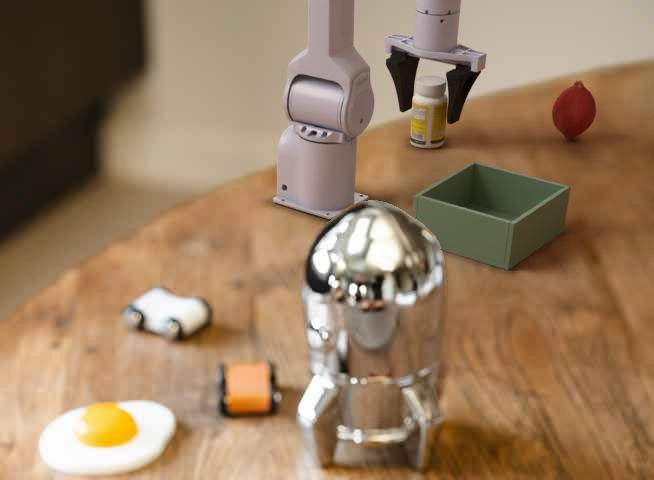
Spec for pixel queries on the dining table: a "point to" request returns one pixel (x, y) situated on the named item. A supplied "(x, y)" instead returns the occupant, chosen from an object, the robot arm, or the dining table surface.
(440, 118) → the supplement bottle
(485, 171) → the bin
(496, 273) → the dining table surface
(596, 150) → the dining table surface
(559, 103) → the onion
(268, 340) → the dining table surface
